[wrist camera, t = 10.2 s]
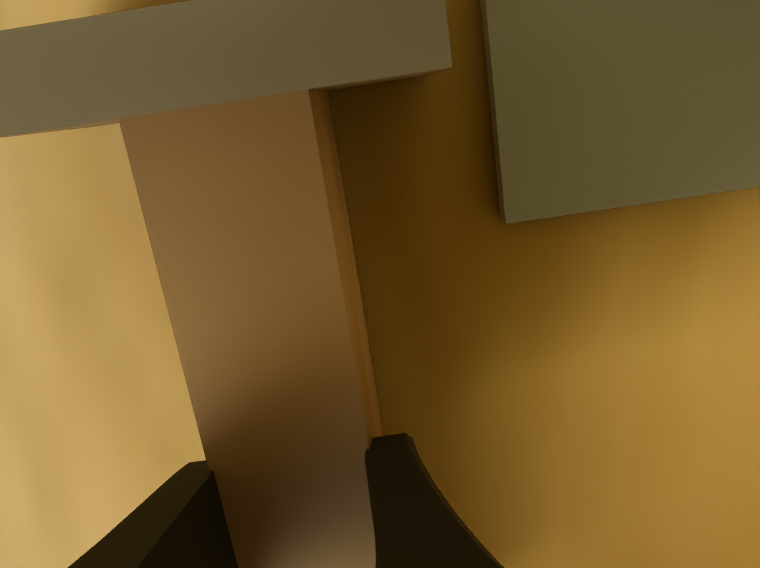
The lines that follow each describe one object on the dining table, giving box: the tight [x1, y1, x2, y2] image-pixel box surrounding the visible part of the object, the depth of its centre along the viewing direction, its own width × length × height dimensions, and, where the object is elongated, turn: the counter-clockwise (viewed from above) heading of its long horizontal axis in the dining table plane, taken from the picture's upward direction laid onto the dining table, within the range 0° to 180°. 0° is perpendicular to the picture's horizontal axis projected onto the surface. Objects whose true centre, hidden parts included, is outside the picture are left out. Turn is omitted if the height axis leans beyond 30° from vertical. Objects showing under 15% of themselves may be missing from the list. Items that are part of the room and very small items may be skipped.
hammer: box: [0, 0, 453, 568], centre depth 11 cm, size 13×6×4 cm, turn 8°
